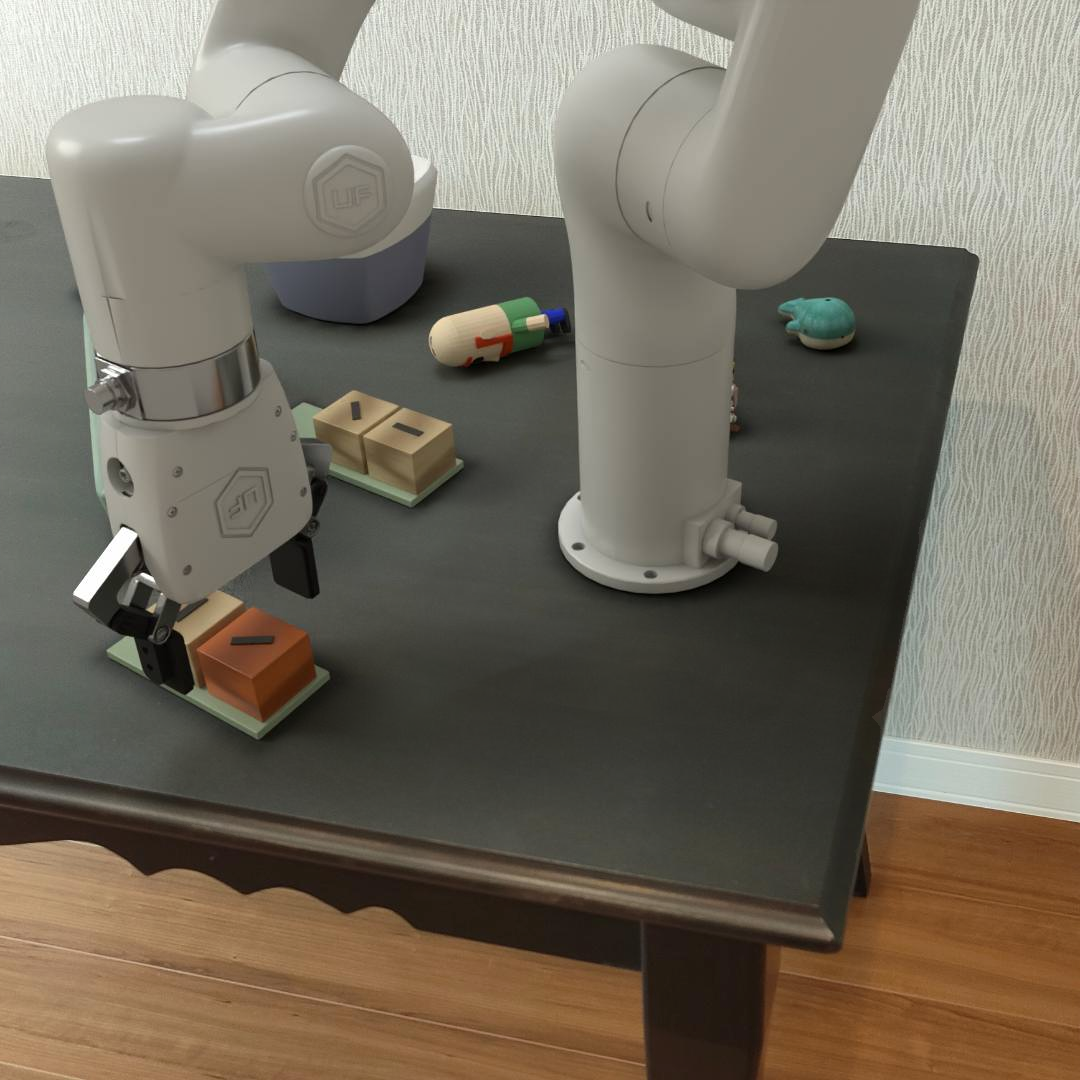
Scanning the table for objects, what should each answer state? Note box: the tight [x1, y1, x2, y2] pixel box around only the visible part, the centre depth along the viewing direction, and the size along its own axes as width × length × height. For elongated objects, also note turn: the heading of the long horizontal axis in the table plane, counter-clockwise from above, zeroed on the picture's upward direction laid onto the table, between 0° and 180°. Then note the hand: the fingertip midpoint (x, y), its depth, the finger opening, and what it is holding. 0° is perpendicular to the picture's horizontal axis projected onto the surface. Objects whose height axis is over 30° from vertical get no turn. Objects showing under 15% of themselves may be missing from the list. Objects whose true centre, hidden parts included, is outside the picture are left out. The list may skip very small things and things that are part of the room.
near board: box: [106, 636, 331, 741], centre depth 77 cm, size 13×6×1 cm, turn 55°
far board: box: [291, 401, 465, 508], centre depth 96 cm, size 16×6×1 cm, turn 55°
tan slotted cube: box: [146, 589, 247, 688], centre depth 77 cm, size 4×4×4 cm
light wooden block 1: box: [313, 389, 401, 474], centre depth 94 cm, size 4×4×4 cm
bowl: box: [262, 153, 439, 325], centre depth 114 cm, size 15×15×11 cm
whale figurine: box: [777, 297, 856, 350], centre depth 106 cm, size 6×7×4 cm
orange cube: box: [197, 606, 317, 723], centre depth 74 cm, size 4×4×4 cm
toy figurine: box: [428, 296, 572, 368], centre depth 106 cm, size 8×4×12 cm
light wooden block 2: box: [363, 407, 457, 495], centre depth 92 cm, size 4×4×4 cm
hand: (237, 634), depth 72 cm, fingers open, 9 cm apart
